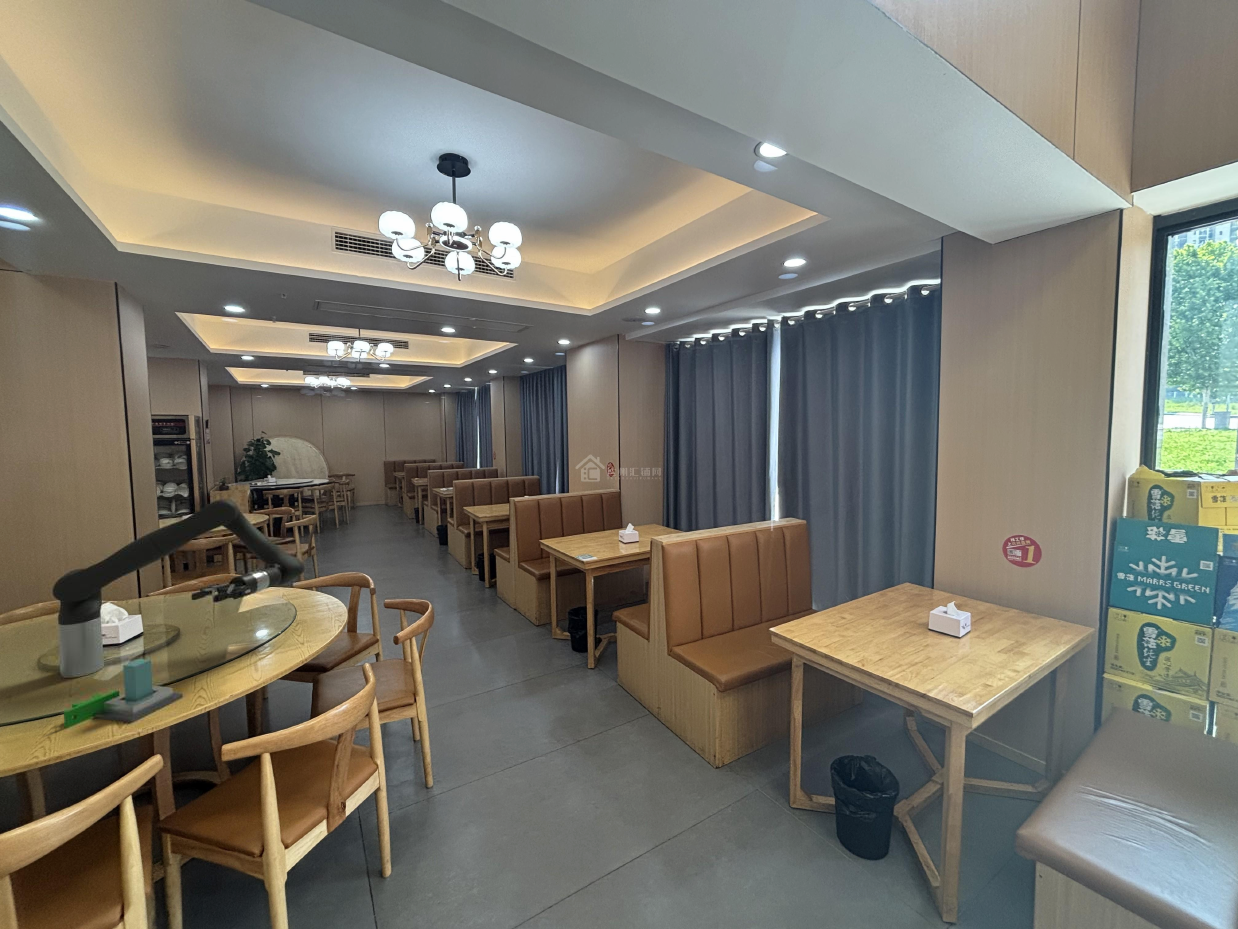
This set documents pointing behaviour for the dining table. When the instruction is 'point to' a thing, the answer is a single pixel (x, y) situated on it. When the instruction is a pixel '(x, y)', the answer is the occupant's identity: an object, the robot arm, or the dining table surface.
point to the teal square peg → (137, 680)
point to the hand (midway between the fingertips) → (203, 598)
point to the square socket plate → (134, 718)
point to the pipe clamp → (87, 708)
